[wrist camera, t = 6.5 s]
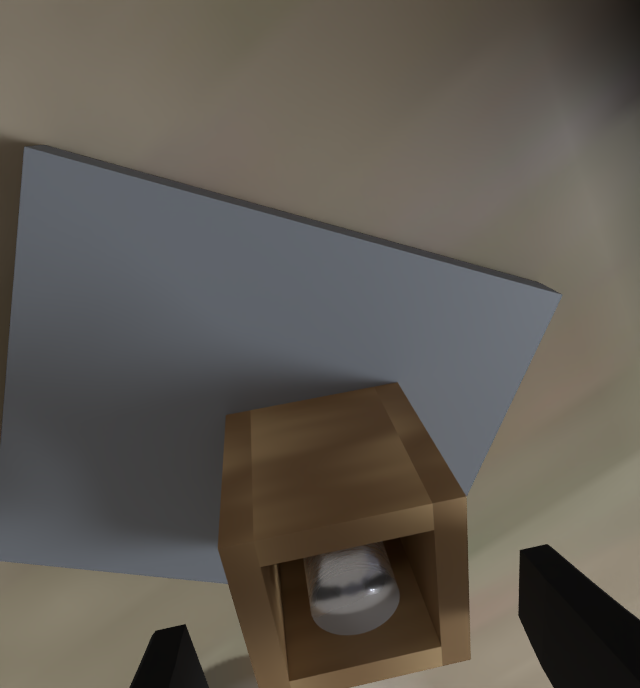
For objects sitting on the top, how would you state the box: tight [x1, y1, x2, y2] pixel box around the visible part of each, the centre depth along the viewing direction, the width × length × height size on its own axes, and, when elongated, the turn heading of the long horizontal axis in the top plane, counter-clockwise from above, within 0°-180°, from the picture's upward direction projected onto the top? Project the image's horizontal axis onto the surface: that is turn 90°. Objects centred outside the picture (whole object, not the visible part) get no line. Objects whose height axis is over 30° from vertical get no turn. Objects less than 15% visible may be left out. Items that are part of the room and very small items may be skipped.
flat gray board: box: [0, 145, 562, 584], centre depth 15 cm, size 14×12×1 cm
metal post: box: [303, 541, 400, 635], centre depth 14 cm, size 2×2×6 cm
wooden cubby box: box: [218, 382, 471, 688], centre depth 13 cm, size 5×5×5 cm
